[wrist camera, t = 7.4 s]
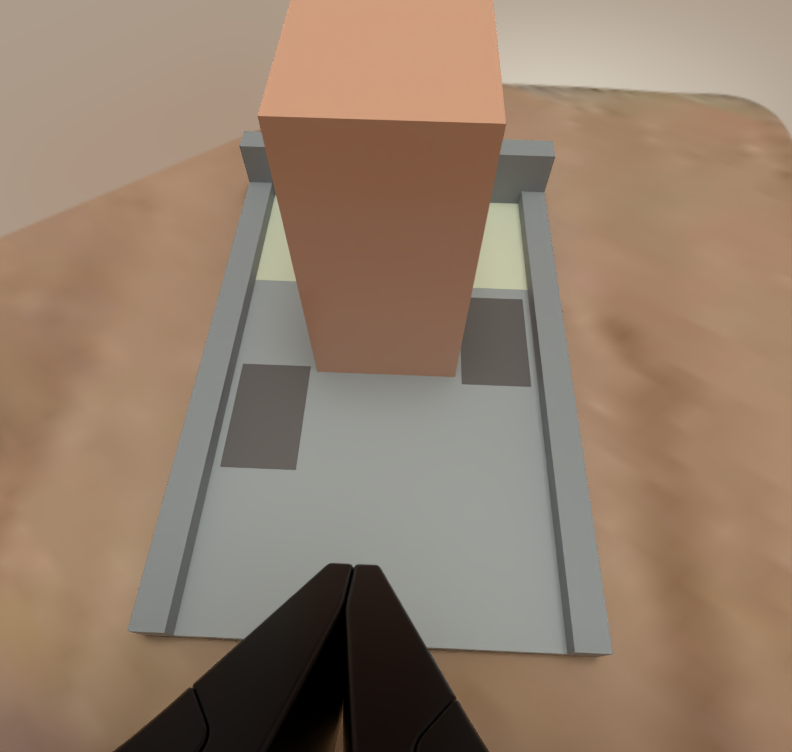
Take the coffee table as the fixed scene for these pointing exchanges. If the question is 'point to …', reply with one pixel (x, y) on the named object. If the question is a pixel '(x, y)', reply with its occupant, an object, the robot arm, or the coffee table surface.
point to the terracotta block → (385, 173)
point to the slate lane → (386, 454)
